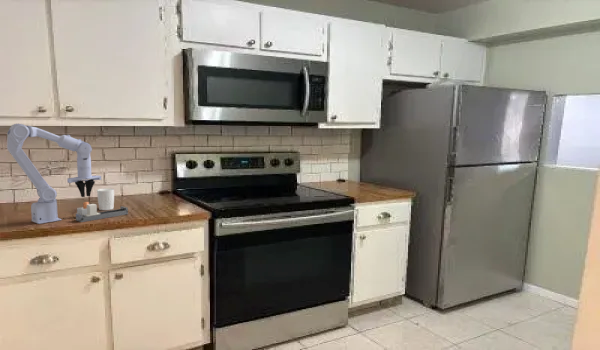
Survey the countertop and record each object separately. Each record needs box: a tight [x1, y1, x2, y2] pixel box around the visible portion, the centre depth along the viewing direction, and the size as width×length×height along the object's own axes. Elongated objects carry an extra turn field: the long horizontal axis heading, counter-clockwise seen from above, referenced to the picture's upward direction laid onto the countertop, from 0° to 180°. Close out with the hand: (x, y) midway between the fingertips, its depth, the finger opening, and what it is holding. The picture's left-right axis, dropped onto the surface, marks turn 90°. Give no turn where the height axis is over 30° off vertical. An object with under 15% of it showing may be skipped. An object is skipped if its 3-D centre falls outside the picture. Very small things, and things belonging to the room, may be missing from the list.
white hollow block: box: [76, 206, 87, 215], centre depth 190 cm, size 6×5×4 cm
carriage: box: [84, 203, 100, 217], centre depth 184 cm, size 6×3×6 cm, turn 143°
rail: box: [75, 205, 129, 223], centre depth 188 cm, size 22×5×3 cm, turn 143°
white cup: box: [96, 187, 115, 211], centre depth 205 cm, size 8×8×10 cm
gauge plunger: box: [82, 201, 90, 209], centre depth 189 cm, size 2×2×4 cm
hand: (85, 196), depth 189 cm, fingers closed
